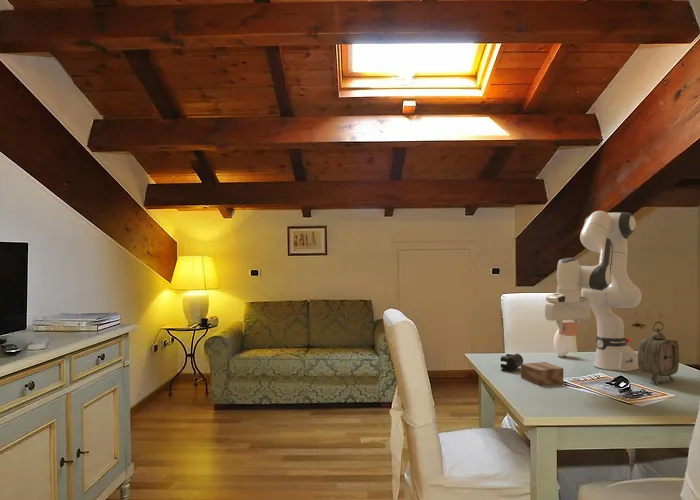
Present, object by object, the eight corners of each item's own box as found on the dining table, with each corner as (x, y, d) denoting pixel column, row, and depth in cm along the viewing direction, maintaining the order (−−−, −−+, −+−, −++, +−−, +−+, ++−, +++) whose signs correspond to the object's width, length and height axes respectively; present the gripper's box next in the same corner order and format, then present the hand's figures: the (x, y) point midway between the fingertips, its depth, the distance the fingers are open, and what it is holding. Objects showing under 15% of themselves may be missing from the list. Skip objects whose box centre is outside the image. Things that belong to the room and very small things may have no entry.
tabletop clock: (657, 386, 205) (657, 324, 205) (636, 381, 213) (635, 321, 213) (679, 381, 212) (678, 321, 212) (657, 377, 220) (657, 318, 220)
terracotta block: (569, 333, 215) (569, 321, 215) (577, 335, 210) (577, 323, 210) (559, 334, 213) (559, 322, 213) (567, 336, 208) (567, 323, 208)
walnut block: (544, 375, 223) (544, 361, 223) (563, 382, 212) (563, 368, 212) (520, 377, 220) (520, 363, 220) (538, 385, 209) (538, 370, 208)
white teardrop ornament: (572, 358, 258) (572, 322, 257) (557, 358, 258) (556, 322, 257) (566, 354, 265) (566, 320, 265) (551, 354, 265) (550, 320, 265)
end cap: (515, 373, 229) (515, 358, 229) (500, 370, 233) (500, 355, 233) (523, 368, 237) (523, 354, 237) (508, 366, 241) (508, 352, 241)
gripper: (583, 295, 218) (583, 328, 218) (542, 297, 212) (542, 330, 212) (594, 297, 212) (594, 330, 212) (552, 298, 206) (552, 332, 206)
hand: (568, 330), depth 212 cm, fingers closed on terracotta block, 5 cm apart
